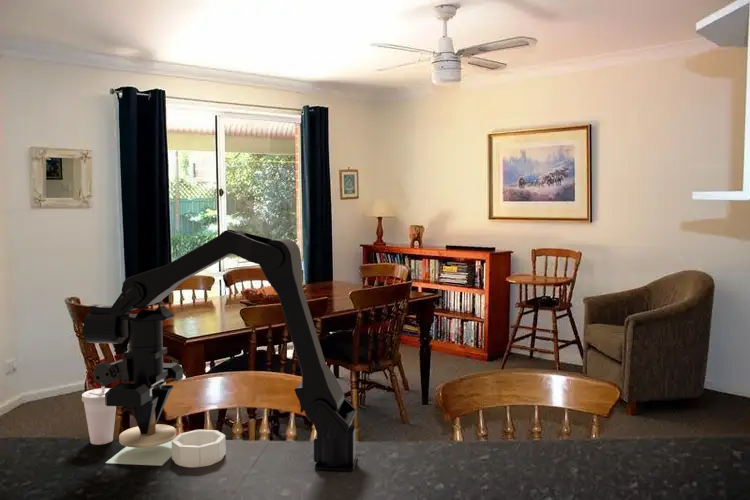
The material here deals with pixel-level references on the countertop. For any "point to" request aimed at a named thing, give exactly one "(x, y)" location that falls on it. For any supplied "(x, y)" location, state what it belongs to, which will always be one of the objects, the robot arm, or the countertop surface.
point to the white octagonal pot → (198, 448)
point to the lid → (148, 435)
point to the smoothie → (99, 416)
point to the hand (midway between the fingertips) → (148, 430)
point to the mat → (143, 455)
